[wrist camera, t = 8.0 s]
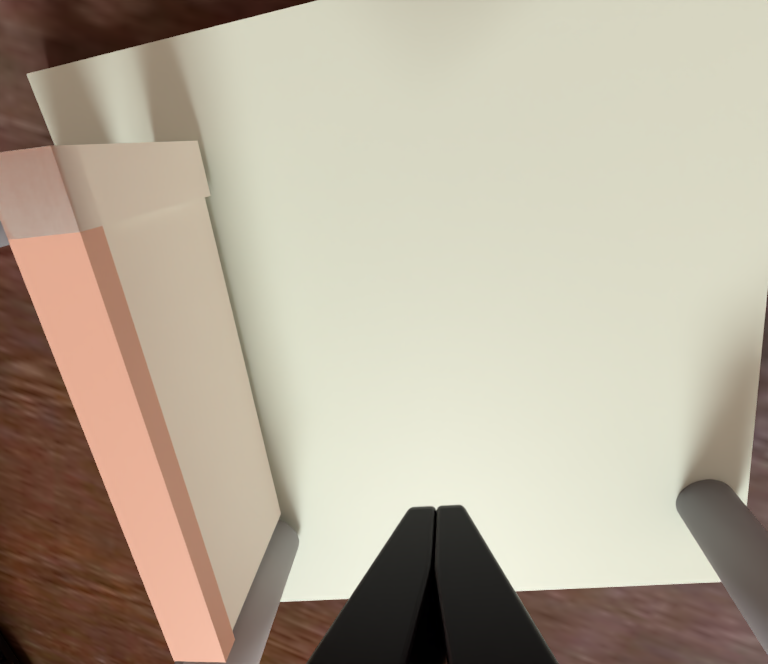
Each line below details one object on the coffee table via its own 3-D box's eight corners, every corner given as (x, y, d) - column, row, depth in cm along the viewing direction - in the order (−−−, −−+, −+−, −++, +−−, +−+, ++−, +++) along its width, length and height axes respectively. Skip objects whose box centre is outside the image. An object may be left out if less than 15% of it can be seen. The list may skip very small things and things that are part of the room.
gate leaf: (303, 558, 21) (253, 716, 15) (253, 559, 21) (186, 713, 15) (207, 139, 15) (65, 143, 9) (138, 148, 15) (-39, 157, 9)
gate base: (242, 585, 23) (161, 774, 17) (47, 78, 16) (-260, 35, 9) (725, 560, 20) (876, 786, 13) (780, -105, 12) (1218, -409, 5)
